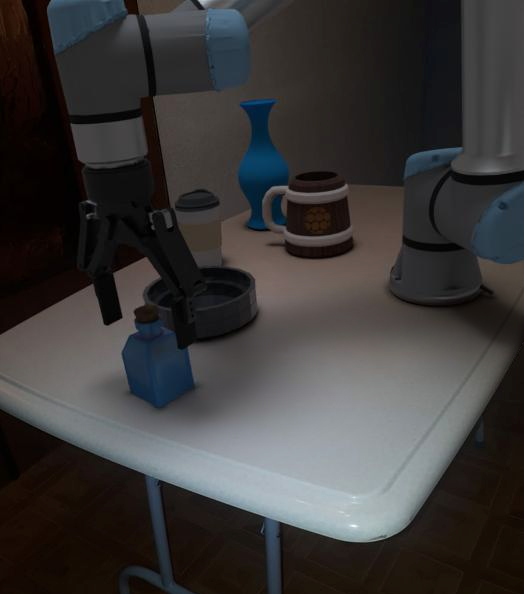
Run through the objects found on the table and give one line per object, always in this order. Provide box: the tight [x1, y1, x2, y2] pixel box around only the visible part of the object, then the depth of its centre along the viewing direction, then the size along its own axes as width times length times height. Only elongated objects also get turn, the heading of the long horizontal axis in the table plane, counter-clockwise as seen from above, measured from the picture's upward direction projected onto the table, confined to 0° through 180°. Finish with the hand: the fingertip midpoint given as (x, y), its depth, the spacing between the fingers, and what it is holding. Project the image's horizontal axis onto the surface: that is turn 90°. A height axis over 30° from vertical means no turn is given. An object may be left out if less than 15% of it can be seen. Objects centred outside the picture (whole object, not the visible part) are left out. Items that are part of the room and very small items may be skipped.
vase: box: [237, 98, 290, 230], centre depth 131 cm, size 12×13×28 cm
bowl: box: [141, 265, 259, 340], centre depth 93 cm, size 19×19×6 cm
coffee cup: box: [174, 188, 223, 267], centre depth 113 cm, size 9×9×15 cm
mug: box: [262, 170, 355, 258], centre depth 117 cm, size 20×15×15 cm
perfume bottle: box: [120, 304, 195, 409], centre depth 73 cm, size 6×6×12 cm
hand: (148, 332), depth 71 cm, fingers open, 13 cm apart
